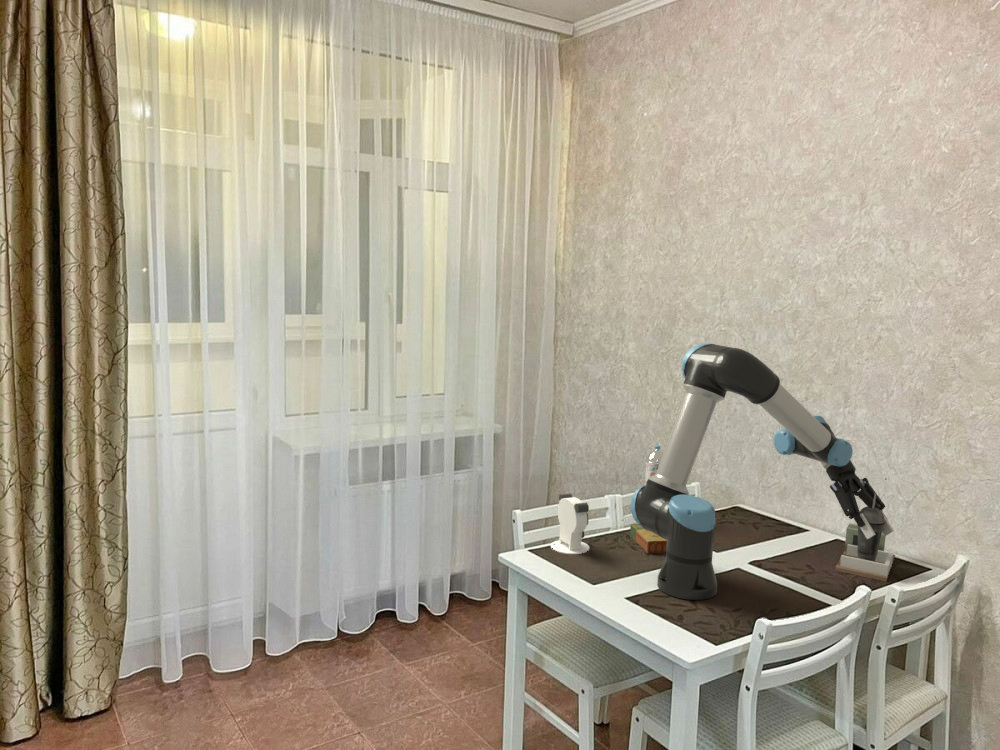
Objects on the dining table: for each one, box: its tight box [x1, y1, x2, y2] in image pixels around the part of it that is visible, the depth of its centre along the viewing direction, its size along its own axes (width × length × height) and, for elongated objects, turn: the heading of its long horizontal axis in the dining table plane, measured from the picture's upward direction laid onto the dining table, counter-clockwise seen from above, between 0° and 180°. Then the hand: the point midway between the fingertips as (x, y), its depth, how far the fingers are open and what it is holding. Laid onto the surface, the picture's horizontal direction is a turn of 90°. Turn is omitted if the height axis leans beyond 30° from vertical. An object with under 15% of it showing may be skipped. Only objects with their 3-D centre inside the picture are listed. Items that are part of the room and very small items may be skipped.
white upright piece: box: [550, 493, 590, 555], centre depth 228 cm, size 12×11×15 cm
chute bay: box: [840, 544, 894, 577], centre depth 221 cm, size 12×12×3 cm
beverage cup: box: [857, 491, 885, 562], centre depth 219 cm, size 7×7×20 cm
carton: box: [629, 523, 667, 554], centre depth 235 cm, size 8×16×4 cm, turn 9°
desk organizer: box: [834, 522, 896, 582], centre depth 223 cm, size 22×13×8 cm, turn 148°
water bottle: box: [643, 444, 664, 485], centre depth 256 cm, size 7×7×25 cm
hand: (880, 534), depth 217 cm, fingers closed on beverage cup, 7 cm apart
